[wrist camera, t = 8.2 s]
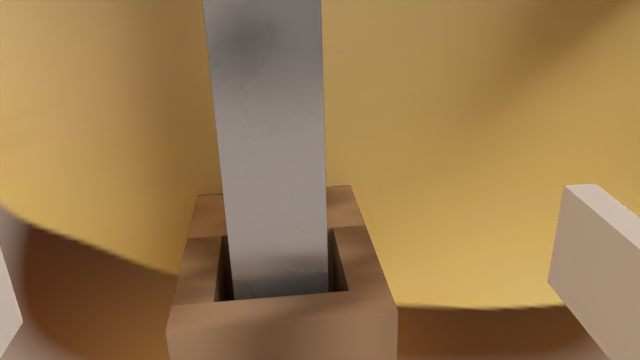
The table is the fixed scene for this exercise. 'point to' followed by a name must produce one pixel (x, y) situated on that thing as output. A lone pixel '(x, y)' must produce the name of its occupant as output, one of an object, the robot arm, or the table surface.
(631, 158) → the table surface
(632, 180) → the table surface
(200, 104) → the table surface
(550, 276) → the robot arm
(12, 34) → the table surface
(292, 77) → the orange-tipped grey stick
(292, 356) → the socket
